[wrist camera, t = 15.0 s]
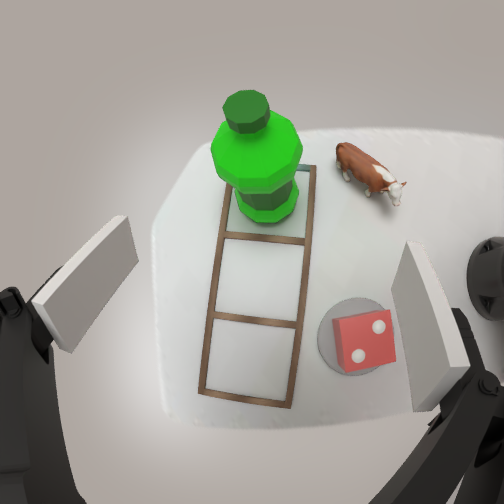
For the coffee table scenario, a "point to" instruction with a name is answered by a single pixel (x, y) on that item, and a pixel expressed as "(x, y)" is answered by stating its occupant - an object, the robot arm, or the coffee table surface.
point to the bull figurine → (368, 172)
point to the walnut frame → (257, 320)
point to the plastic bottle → (258, 157)
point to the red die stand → (356, 336)
